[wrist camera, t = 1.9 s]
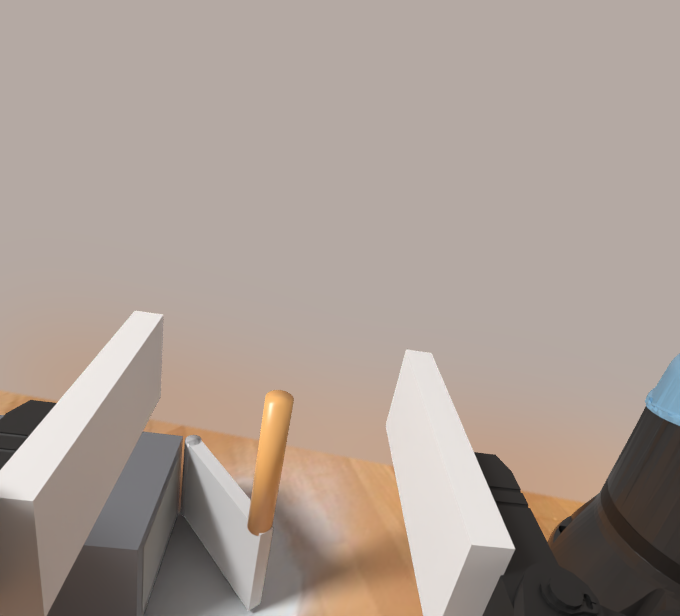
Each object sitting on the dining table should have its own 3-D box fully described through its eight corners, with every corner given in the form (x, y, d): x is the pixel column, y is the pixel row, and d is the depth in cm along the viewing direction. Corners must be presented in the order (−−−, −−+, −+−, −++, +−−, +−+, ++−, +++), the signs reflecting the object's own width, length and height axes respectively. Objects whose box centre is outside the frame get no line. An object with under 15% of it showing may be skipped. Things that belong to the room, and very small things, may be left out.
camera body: (185, 492, 42) (191, 409, 39) (136, 637, 31) (138, 540, 27) (15, 474, 40) (5, 386, 37) (-101, 620, 29) (-131, 515, 26)
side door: (193, 502, 41) (207, 322, 34) (264, 601, 34) (299, 401, 27) (175, 510, 40) (186, 326, 33) (244, 614, 33) (276, 410, 26)
